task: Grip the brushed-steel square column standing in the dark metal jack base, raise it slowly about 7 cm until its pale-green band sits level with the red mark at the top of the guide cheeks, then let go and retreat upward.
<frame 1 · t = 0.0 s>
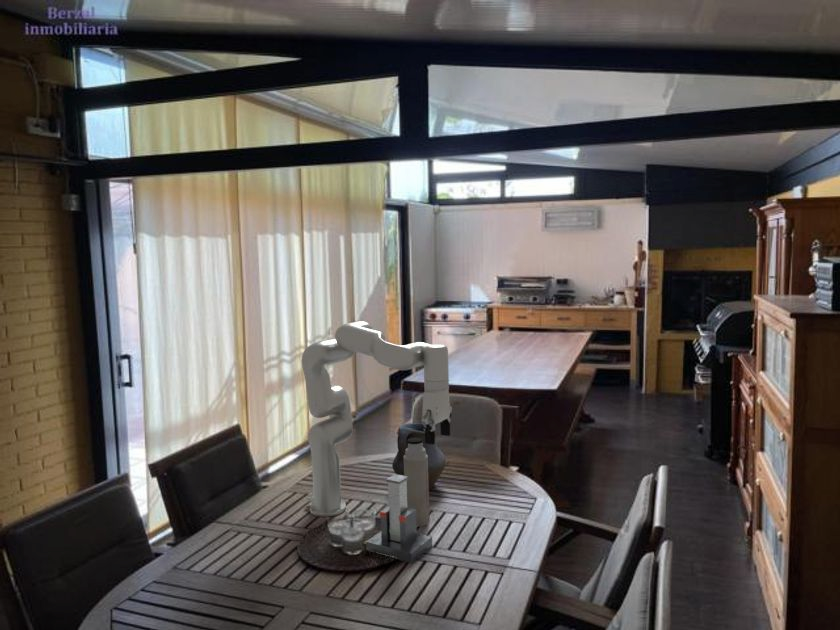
hand: (437, 439, 194), 31 cm above the table, fingers open, 9 cm apart
thermos bottle: (417, 522, 209), on the table
pitcher: (418, 488, 239), on the table
column: (398, 508, 189), point 13 cm above the table, slide at 0.0 cm
jack base: (399, 548, 190), on the table
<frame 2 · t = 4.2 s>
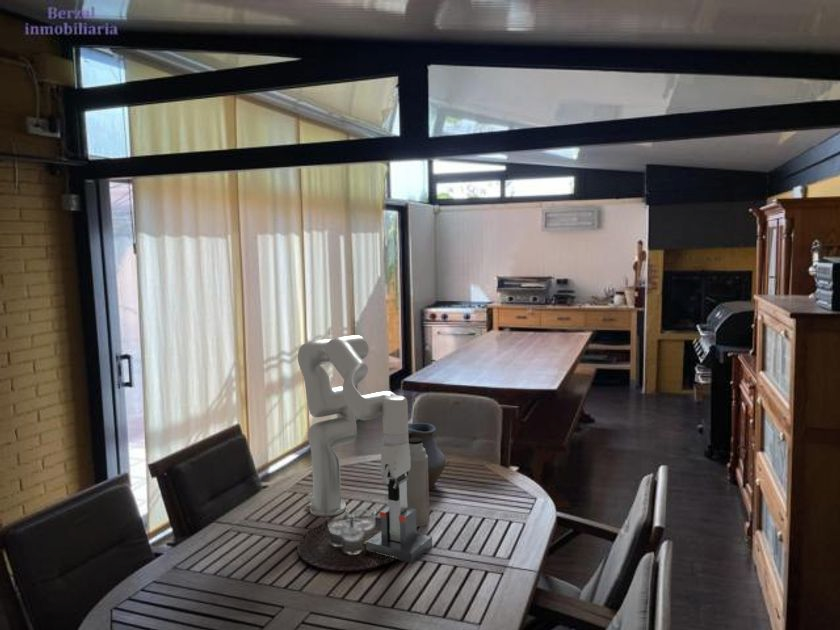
hand: (397, 496, 188), 16 cm above the table, fingers closed on column, 4 cm apart
column: (398, 508, 189), point 13 cm above the table, slide at 0.0 cm, touching gripper
everything else where it was.
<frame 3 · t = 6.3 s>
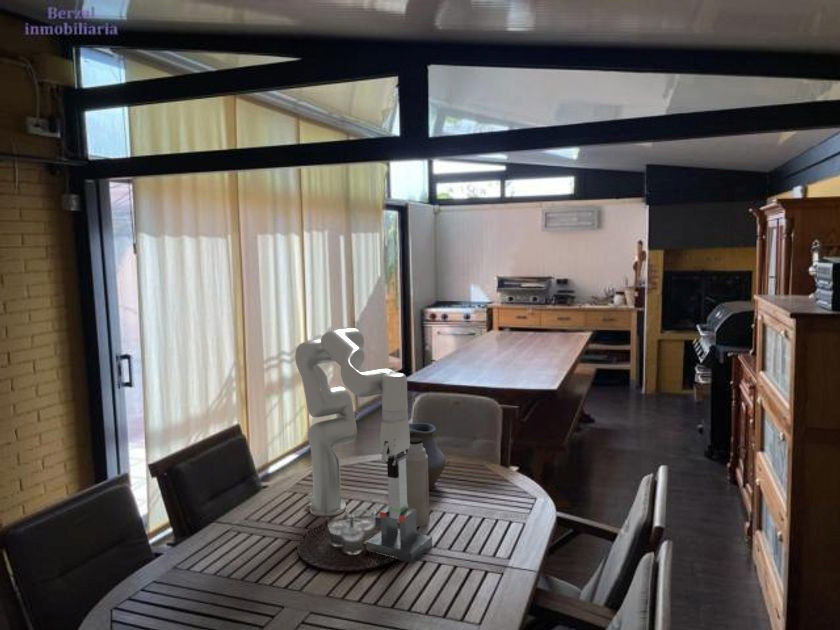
hand: (397, 474, 188), 23 cm above the table, fingers closed on column, 4 cm apart
column: (397, 485, 188), point 20 cm above the table, slide at 6.9 cm, touching gripper
everything else where it was.
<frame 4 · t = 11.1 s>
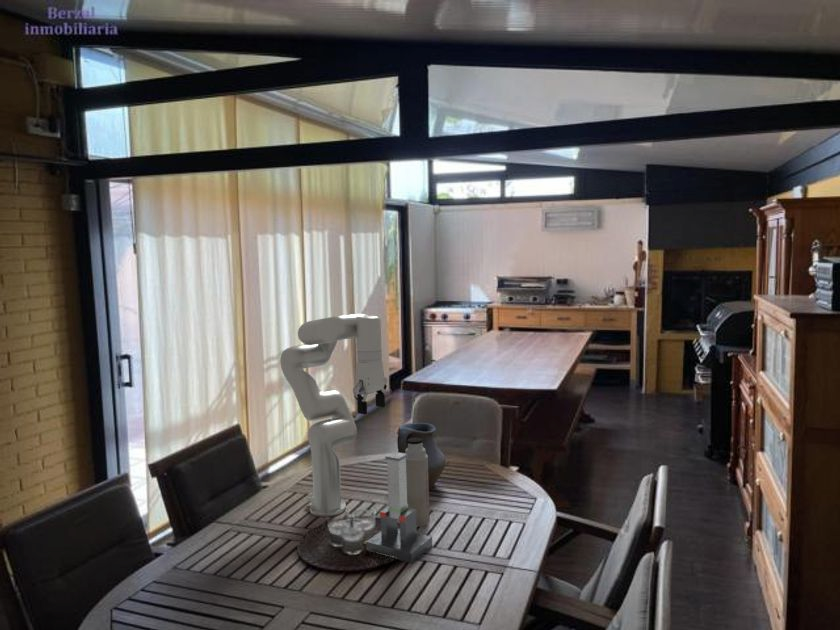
hand: (371, 410, 196), 40 cm above the table, fingers open, 9 cm apart
column: (397, 485, 188), point 20 cm above the table, slide at 7.0 cm
everything else where it was.
at the end: column slide at 7.0 cm; the gripper is holding nothing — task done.
